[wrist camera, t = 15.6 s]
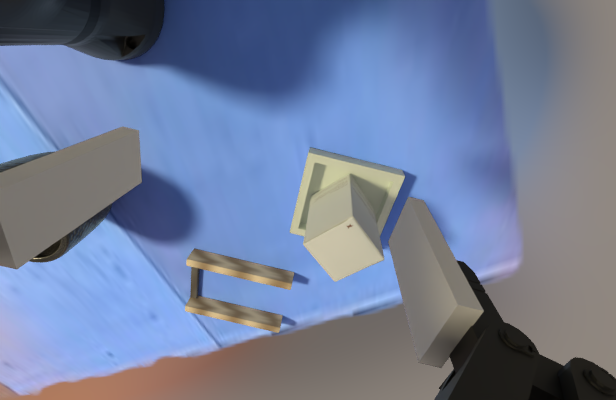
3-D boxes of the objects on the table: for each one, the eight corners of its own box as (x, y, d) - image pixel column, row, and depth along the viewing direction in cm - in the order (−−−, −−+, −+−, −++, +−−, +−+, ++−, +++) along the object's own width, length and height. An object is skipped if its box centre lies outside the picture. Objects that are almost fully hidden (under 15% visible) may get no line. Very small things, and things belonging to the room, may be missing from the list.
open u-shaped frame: (191, 299, 60) (185, 311, 58) (194, 248, 54) (186, 259, 51) (281, 320, 61) (278, 332, 58) (294, 272, 54) (291, 283, 52)
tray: (291, 224, 50) (289, 232, 47) (309, 147, 43) (308, 152, 41) (371, 243, 50) (372, 252, 48) (401, 170, 43) (405, 176, 41)
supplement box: (309, 195, 46) (300, 243, 35) (350, 171, 43) (354, 215, 32) (334, 229, 48) (333, 283, 37) (375, 208, 46) (386, 260, 35)
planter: (109, 137, 45) (31, 168, 34) (141, 215, 52) (85, 263, 40) (30, 143, 47) (-69, 174, 36) (70, 217, 53) (-2, 264, 42)
